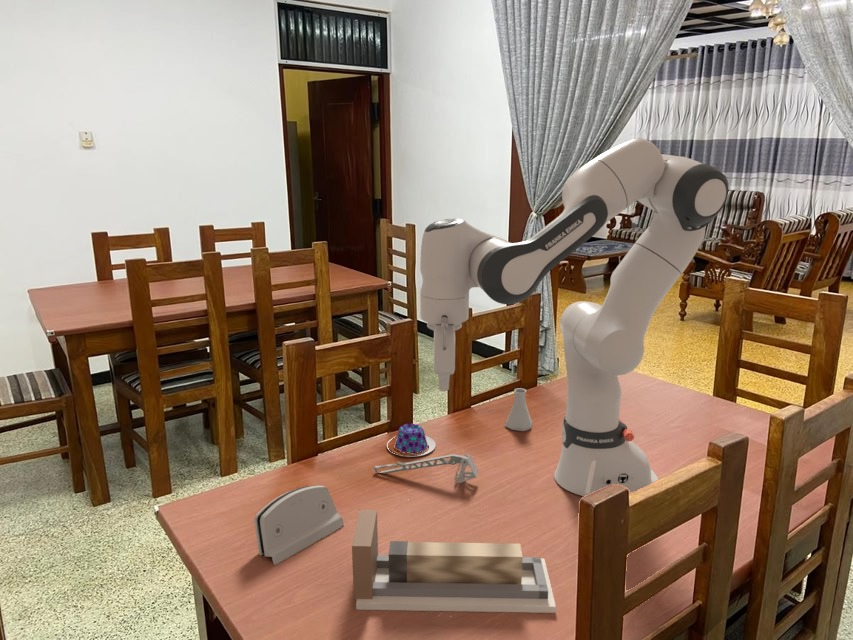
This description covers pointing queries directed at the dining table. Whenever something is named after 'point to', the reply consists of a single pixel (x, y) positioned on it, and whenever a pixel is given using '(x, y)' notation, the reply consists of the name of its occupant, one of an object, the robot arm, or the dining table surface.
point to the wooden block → (455, 562)
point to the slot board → (387, 595)
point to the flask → (519, 413)
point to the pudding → (413, 440)
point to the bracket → (454, 460)
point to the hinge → (295, 522)
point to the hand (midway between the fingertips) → (443, 379)
